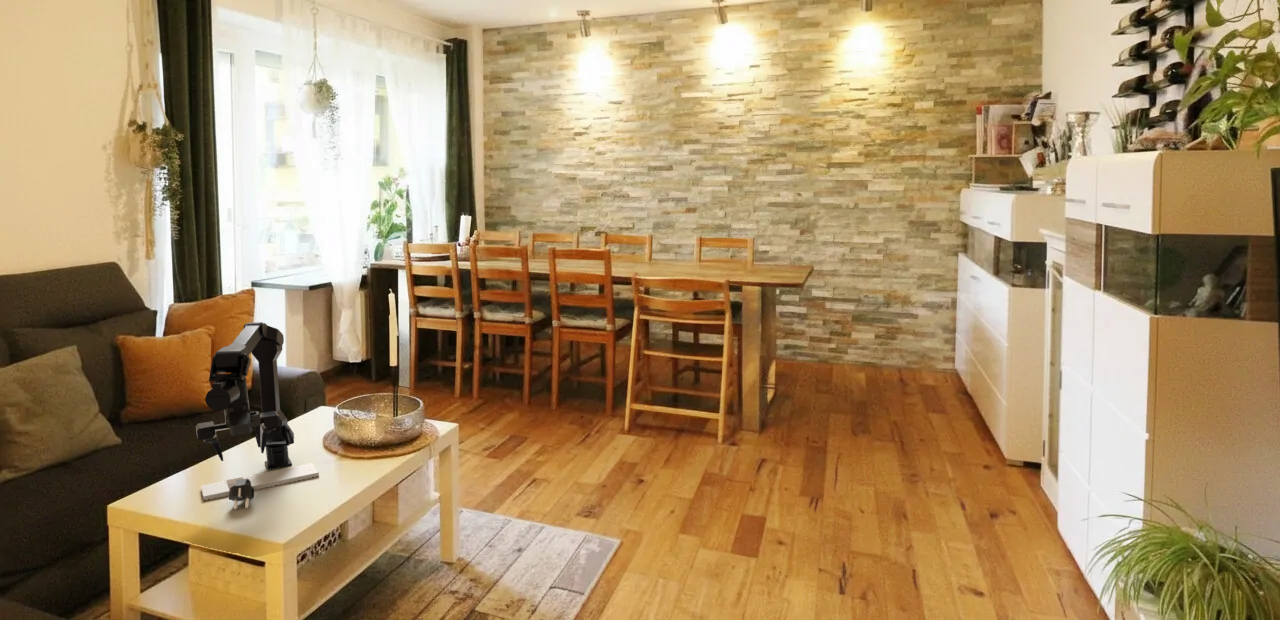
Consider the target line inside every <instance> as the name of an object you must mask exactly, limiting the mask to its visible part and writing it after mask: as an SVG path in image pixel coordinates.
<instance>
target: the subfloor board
mask: <svg viewBox="0 0 1280 620" xmlns="http://www.w3.org/2000/svg"><path fill="white" fill-rule="evenodd" d="M319 474H320V473H319V471H318V469H317V468H316V466H315V465H314V463H313V462H311V463H305V464H302V465H296V466H292V467H287V468H282V469H276V470H272V471H268V472H267V471H266V472H263V473H262V472H261V473H257V474H252V475H246V476H241V477H237V478H232V479H226V480H222V481H217V482H210V483H208V484H207V483H205V484H202V485H200V487H201V489H200V490H201V495H202V499H203V501H204V500H206V501H209V500H208V499H210V500H214V498H215V499H219V497H220V498H224V497H229V492H230V488H231V487H233V486H234V485H235V484H236V482H237V481H236V480H238V479H249V480H250V481H251V486H252V487H253V488H254V491H257V490H262V489H266V488H265V487H267V488H271V486H272V487H276V486H275V485H277V486H280V484H281V485H286V484H290V483H289V482H291V483H294V482H293V481H296V482H299V481H298V480H300V481H303V480H302V479H305V480H309V479H308V478H310V479H313V478H312V477H315V478H317V477H316V476H320V475H319ZM285 483H286V484H285ZM261 488H262V489H261Z"/></svg>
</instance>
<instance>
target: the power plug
mask: <svg viewBox="0 0 1280 620" xmlns="http://www.w3.org/2000/svg"><path fill="white" fill-rule="evenodd" d="M236 481H237V482H236V484H235V485H234V486H233V487H231V488H230V492H229V496H228V500H229V501H232V502H233V510H235V511H237V510H238V502H243V501H244V508H245V509H249V503H250V502H249V501H250V500H253V499H254V498H255V490H254V488H253V487H252V486H251V481H250V480H249V479H238V480H236Z"/></svg>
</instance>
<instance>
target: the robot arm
mask: <svg viewBox="0 0 1280 620" xmlns="http://www.w3.org/2000/svg"><path fill="white" fill-rule="evenodd" d="M284 339H285V338H284V333H282V332H281V330H279V329H278V328H276V327H273V326H270V325H268V324H267V323H265V322H261V321H260V322H259V321H257V322H247V323H244V324H243V329H242V331H240V332H239V335H237V336H236V338H235V339H234V340H233V342H232V343H230V344H229V345H226V346H223V347H221V348H219V349H218V350H217V351H216V352H215V353H214V355H213V357H212V359H211V366H210V371H209V372H210V373H209V378H208V382H209V383H210V382H213V383H212V385H211V386H212V388H211V389H210V390H209V391H207V393H206V395H205V398H204V401H205V404H206V406H207V407H208V409H210V410H212V411H214V412H222V411H223V413H224V419H225V421H224V423H218V424H215V423H214V421H206V422H205V421H204V422H200V423H199V422H198V423H197V424H196V425H195V433H196V437H197V438H196V439H197V441H203V442H204V443H209V444H211V446H212V447H213V449H214V450H215V452H216V454H217V455H218V458H219V459H220V461H221V462H223V461H224V455H223V452H222V449H221V445H220V442H219V438H218V435H217V433H221V432H226V431H229V433H230V435H231V436H232V437H237V436H239V435H243V434H251V433H252V432H253V428H254V427H255V431H254V437H255V440H256V443H257V447H258V448H260V453H261V454H264V453H266V454H265V455H266V461H264V465H265V467H266V469H267V470H272V469H278V468H284V467H289V466H292V465H293V462H292V461H291V458H290V456H289V446H291V445H293V444H295V433H294V431H293V430H292V429H291V426H290V425H289V424H288V418H287V417H286V415H285V413H284V412H282V410H281V403H280V389H279V388H280V387H279V376H278V375H279V373H278V359H279V357H280V355H281V353H282V351H283V346H284V341H285V340H284ZM250 354H252V356H253V357H254V359H255V360H256V361H257V363H258V373H259V374H258V376H259V389H260V391H259V392H260V403H261V406H260V407H261V412H259V411H258V410H257V411H251V410H250V401H249V394H248V384H247V376H248V373H249V371H250V370H249V369H250V366H251V358H250ZM264 451H265V452H264Z"/></svg>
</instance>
